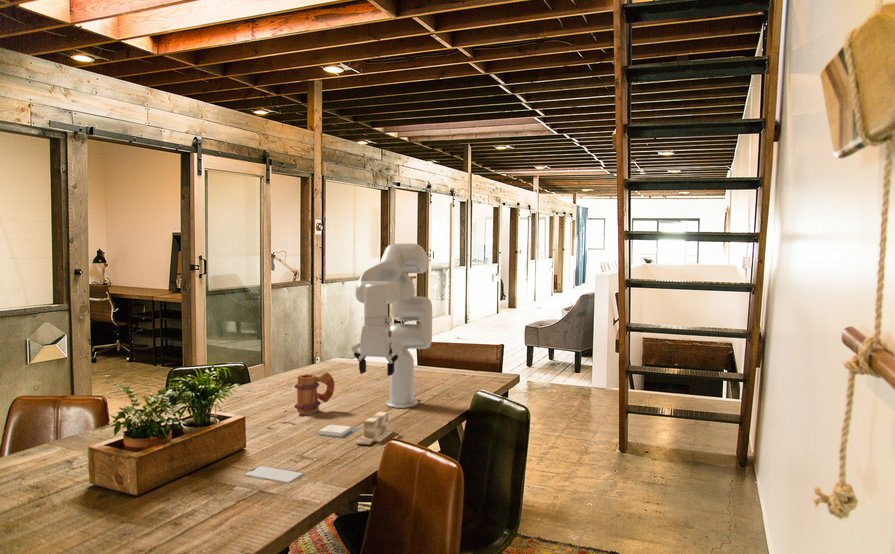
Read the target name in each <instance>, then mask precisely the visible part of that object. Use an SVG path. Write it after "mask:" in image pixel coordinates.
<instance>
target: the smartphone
mask: <svg viewBox="0 0 895 554" xmlns="http://www.w3.org/2000/svg"><path fill="white" fill-rule="evenodd" d="M243 476H245V477H248V478H255V479H262V480H266V481H273V482H277V481H278V483H283V482H284V484H289V483H292V482H294V481H295V480H296V479H299V478H300V477H302V476H304V472H299V471H295V470H289V469H283V468H277V467H273V466H272V467H271V466H266V465H259V466H257V467H255V468H253V469H250V470H249V471H246V472H245V473H244V474H243ZM293 480H294V481H293Z"/></svg>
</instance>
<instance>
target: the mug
mask: <svg viewBox="0 0 895 554" xmlns="http://www.w3.org/2000/svg"><path fill="white" fill-rule="evenodd" d="M320 383H322V384H324V385H326V390H325V391H324V392H323V393H319V392H318V388H319V386H320ZM335 385H336V384H335V381H334V378H333V377H332V375H331V374H330V373H329V372H328V371H325V372H323V373H321V374H320V375H318V376H316V375H315V374H300V375H298V376H297V383H296V384H295V385H294V388H295V389H296V390H297V392H296V393H297V398H296V399H297V400H296V401H297V403H296V404H294V408H295V409H296V410H297V413H298V414H300V415H302V416H309V415H313V414H316V413H317V412H319V410H320V409H319V407H320V405H321V401H322V402H323V403H328V401H329V400H330V399H331V397H332V396H333V395H334V391H335ZM319 400H320V401H319Z"/></svg>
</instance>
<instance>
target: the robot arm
mask: <svg viewBox="0 0 895 554" xmlns="http://www.w3.org/2000/svg"><path fill="white" fill-rule="evenodd" d="M428 256H429V255H428V254H427V252H426V251H425V250H424V248H423V247H422V246H421V245H419V244H417V243H392V244H389V245H387V247H386V248H385V249H384V252H383V254H382V256H381V259H380V262H379V263H378V264H375V265H374V266H371V267H370V268H368V269H366V270H364V271H363V272H362V274H361V275H360V276H359V279H358V281H357V284H356V286H355V298H356V300H357V301H358V302H359V303H362V304H364V305H363V306H364V307H363V309H364V311H363V312H364V313H363V316H364V319H363V321H364V325H362V329H361V333H360V340H359V341H360V342H359V343H357V344H355V345H354V346H351V351H352V353H353V356H354V357H355V358H356V360H357V362H358V370H359V374H360V375H362V374H364V373H366V372H367V360H366V358H367V357H371V358H372V357H374V358H385V360H387V362H388V363H387V367H386V369H387V371H386V373H387V377H389V398H388V399H387V400H385V405H386V406H387V407H390V408H396V409H398V408H399V409H401V408H402V409H406V408H411V407H412V408H413V407H416V406H417V405H418V404H419V401H418V400H417V399H416V398H415V394H416V390H415V377H414V376H415V372H414V371H415V370H414V369H415V366H414V365H415V360H414V356H413V355H412V353H411V352H410V351H409V350H410V349H412V350H413V349H415V350H417V349H419V350H425V349H428V348H430V347H431V345H432V342H433V341H432V339H433V305H432V301H431V299H430V298H428V297H427V296H415V294H414V293H415V292H414V291H415V289H414V287H415V284H414V282H413V280H412V279H411V277H410V276H409V275H408V274H424V273H426V272H427V270H428V268H429V264H430V263H429V261H430V260H429V257H428ZM389 304H391V315H392V317H393V319H394V320H397V321H407V322H408V321H411V322H412V321H413V322H419V324H416V323H414V324H413V323H396V324H395V323H394V324H392V325H389V324H390V323H392V322H393V321H392V318H390V317H389V316H388V314H389V313H388V312H389V311H388V310H389V308H388V306H389ZM358 349H360V351H359V350H358ZM408 349H409V350H408Z"/></svg>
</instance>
